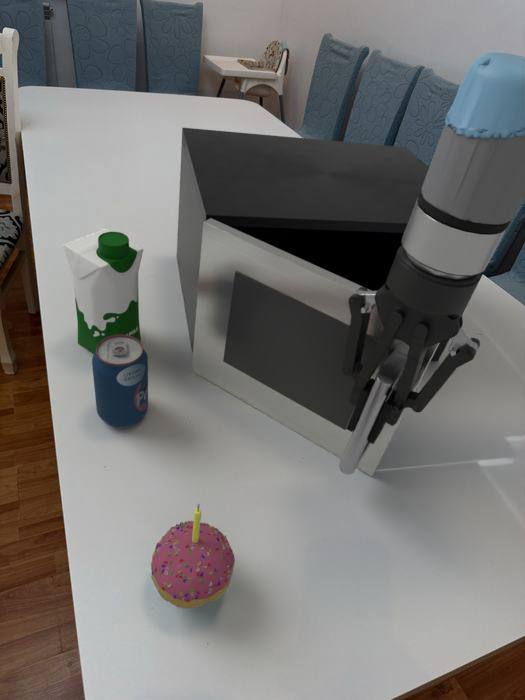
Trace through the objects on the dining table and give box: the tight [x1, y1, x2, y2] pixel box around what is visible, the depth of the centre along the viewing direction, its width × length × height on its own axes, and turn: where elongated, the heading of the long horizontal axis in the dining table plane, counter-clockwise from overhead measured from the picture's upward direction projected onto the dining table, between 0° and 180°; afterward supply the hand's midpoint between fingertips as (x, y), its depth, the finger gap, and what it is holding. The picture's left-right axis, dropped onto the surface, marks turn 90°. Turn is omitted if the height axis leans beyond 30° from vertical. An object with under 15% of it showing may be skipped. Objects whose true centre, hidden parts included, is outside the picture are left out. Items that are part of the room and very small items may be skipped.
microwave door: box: [191, 218, 439, 477], centre depth 63 cm, size 8×32×26 cm, turn 57°
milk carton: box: [62, 228, 144, 355], centre depth 74 cm, size 9×9×20 cm
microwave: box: [176, 127, 495, 363], centre depth 88 cm, size 35×44×26 cm
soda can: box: [91, 335, 149, 429], centre depth 66 cm, size 7×7×12 cm
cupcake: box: [150, 503, 236, 609], centre depth 50 cm, size 9×8×12 cm
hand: (364, 429), depth 59 cm, fingers closed on microwave door, 2 cm apart
